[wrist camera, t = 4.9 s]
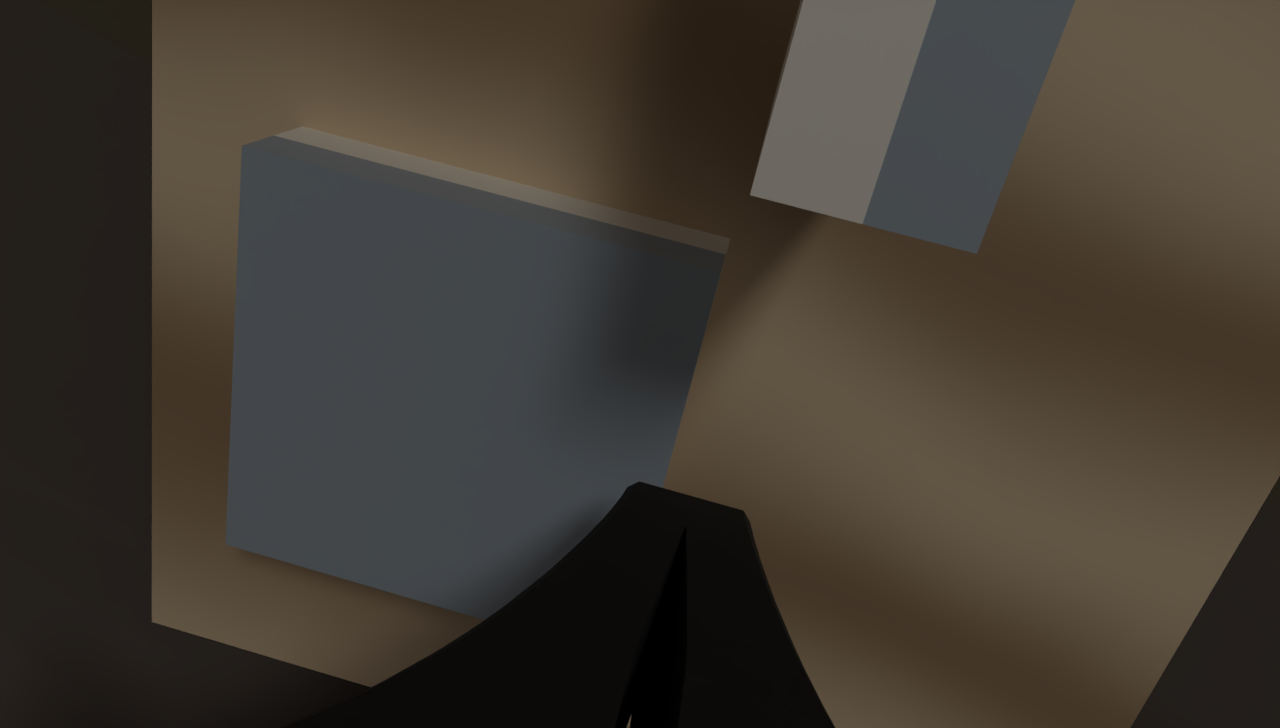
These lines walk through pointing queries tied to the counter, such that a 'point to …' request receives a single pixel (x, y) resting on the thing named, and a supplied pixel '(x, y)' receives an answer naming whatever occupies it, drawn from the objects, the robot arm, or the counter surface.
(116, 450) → the counter surface
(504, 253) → the tile far
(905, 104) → the tile near
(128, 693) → the counter surface
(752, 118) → the cork mat
